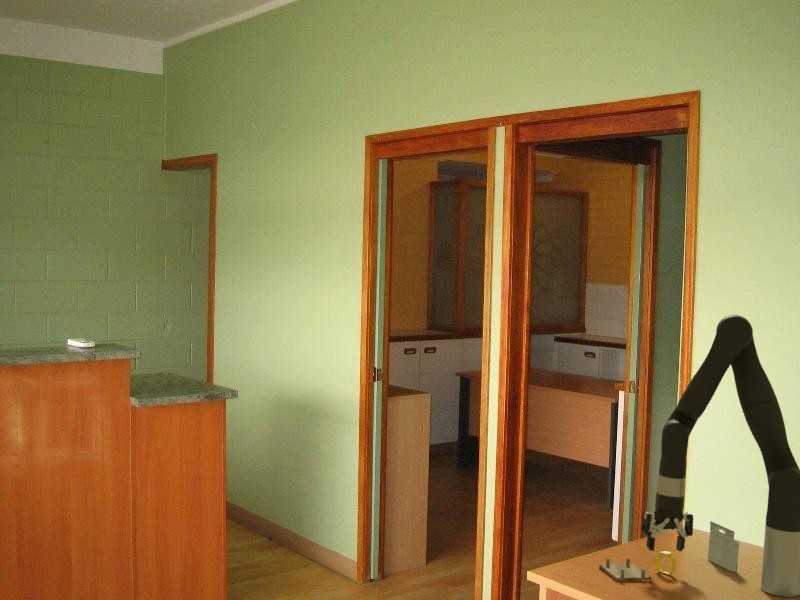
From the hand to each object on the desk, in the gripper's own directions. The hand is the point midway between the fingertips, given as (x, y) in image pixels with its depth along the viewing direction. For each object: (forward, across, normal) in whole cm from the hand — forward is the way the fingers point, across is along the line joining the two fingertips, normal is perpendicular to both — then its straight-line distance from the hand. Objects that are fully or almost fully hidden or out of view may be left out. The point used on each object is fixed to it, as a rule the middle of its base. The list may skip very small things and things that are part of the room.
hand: (665, 550), depth 256 cm
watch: (+7, 0, 0) cm, 7 cm away
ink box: (+6, +22, +6) cm, 23 cm away
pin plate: (+7, -12, 0) cm, 13 cm away
